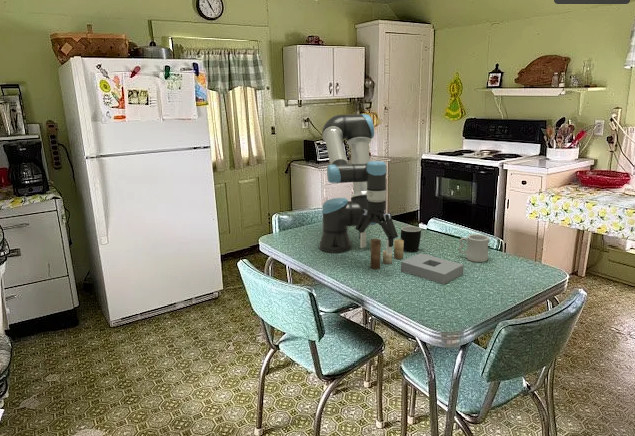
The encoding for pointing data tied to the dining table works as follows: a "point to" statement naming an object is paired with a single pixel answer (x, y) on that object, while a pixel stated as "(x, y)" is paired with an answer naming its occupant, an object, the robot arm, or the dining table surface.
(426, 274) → the hole board
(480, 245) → the mug
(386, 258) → the short pin
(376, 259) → the long pin
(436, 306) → the dining table surface
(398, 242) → the medium pin
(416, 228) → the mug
